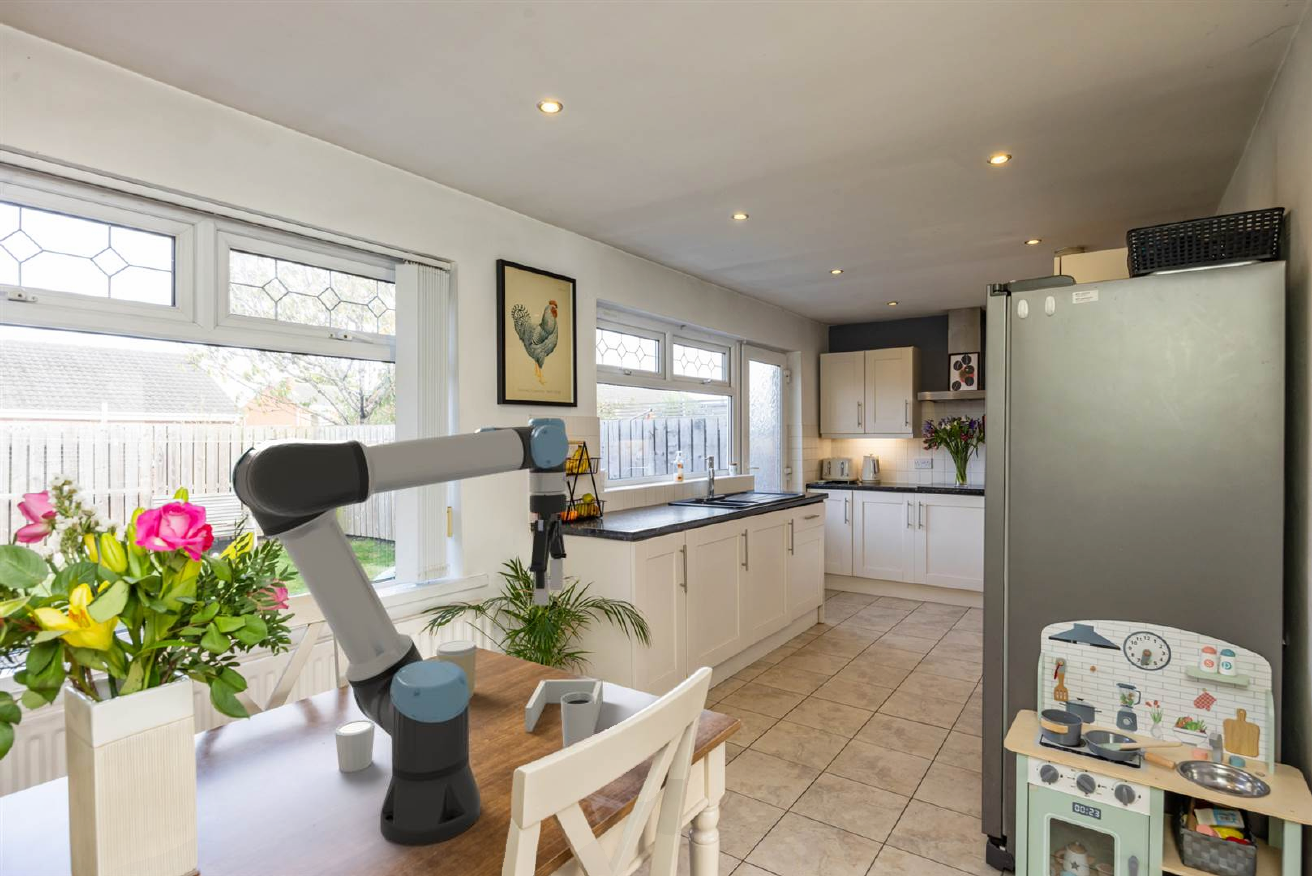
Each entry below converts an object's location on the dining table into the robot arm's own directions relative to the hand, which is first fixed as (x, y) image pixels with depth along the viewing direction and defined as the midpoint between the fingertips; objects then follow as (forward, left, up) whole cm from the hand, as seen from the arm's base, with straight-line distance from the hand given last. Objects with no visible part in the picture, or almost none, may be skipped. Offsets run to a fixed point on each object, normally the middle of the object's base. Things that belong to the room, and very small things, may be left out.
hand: (549, 597), depth 137 cm
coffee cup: (-26, +21, -28) cm, 44 cm away
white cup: (+7, -7, -28) cm, 30 cm away
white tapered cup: (-34, -13, -28) cm, 46 cm away
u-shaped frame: (+2, +10, -28) cm, 30 cm away
